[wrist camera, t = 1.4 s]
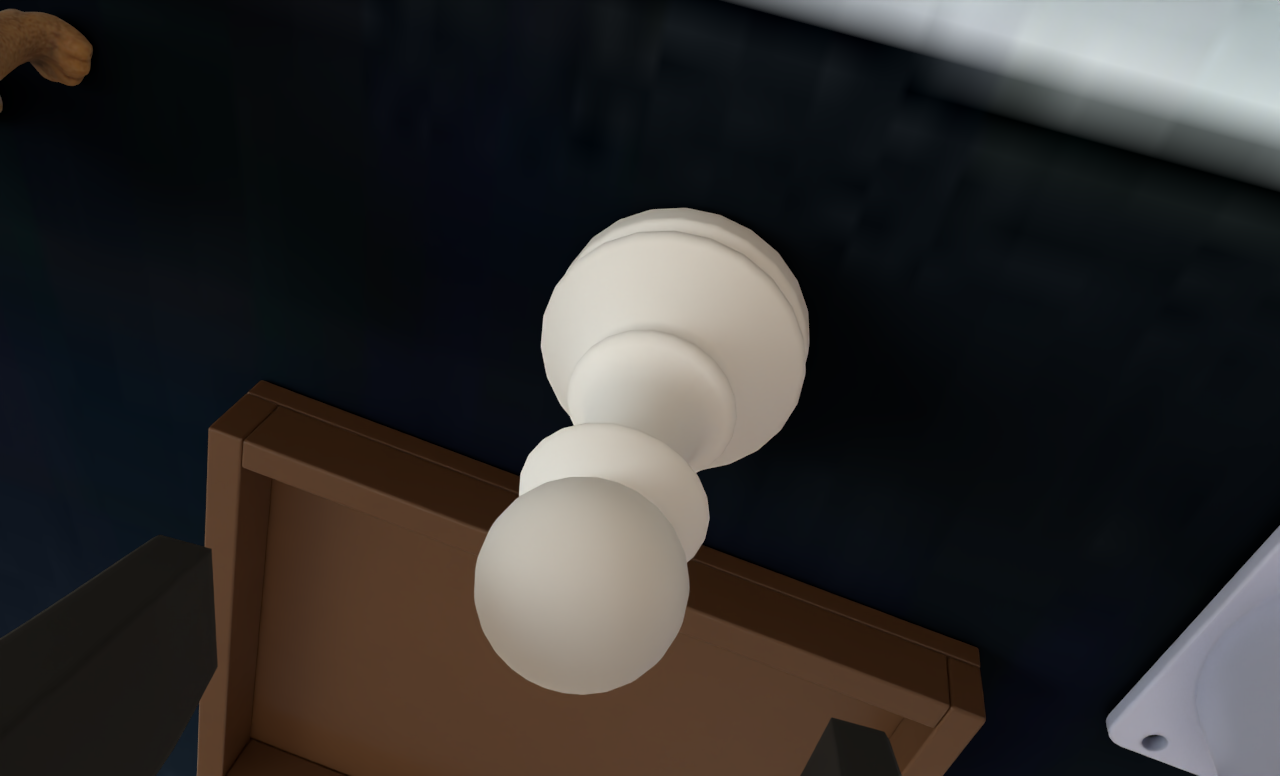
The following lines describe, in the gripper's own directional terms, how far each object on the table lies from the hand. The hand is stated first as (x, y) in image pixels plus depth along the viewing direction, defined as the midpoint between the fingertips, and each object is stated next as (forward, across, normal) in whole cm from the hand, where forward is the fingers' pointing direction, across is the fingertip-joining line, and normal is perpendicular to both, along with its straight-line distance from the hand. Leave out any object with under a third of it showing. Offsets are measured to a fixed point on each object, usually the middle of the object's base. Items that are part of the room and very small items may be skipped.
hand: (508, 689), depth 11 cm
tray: (+10, 0, +12) cm, 15 cm away
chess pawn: (+10, -1, 0) cm, 10 cm away
